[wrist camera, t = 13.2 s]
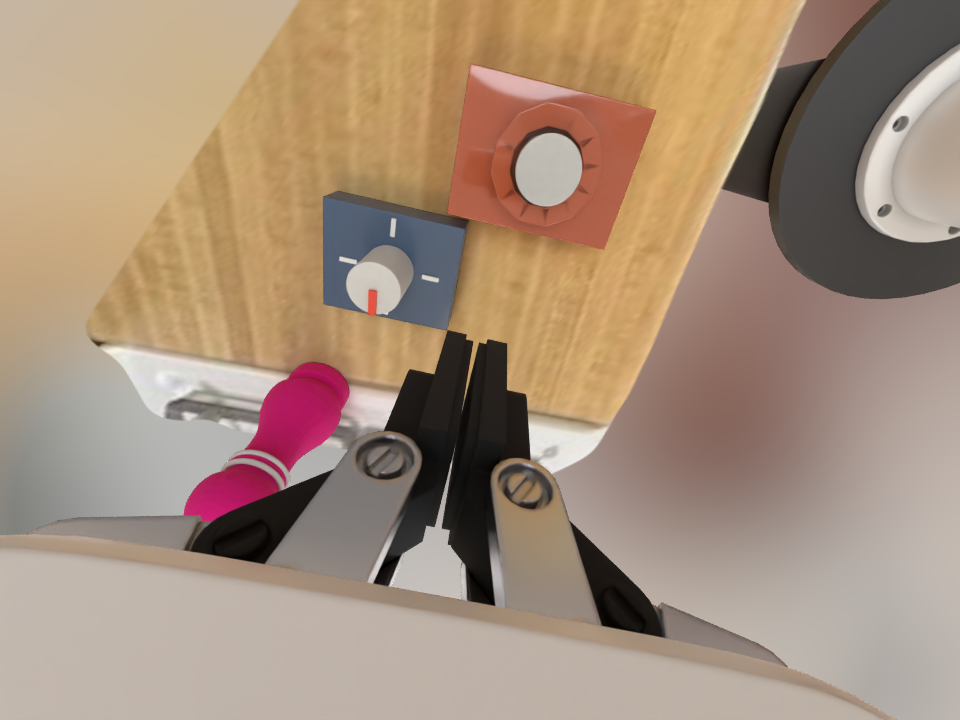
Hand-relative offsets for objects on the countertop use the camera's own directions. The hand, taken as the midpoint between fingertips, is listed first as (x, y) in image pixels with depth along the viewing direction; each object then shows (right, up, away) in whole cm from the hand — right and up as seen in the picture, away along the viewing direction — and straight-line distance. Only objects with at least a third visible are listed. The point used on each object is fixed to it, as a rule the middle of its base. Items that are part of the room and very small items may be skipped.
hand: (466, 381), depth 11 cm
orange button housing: (+5, +16, +19) cm, 25 cm away
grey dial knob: (-7, +8, +21) cm, 23 cm away
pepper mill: (-17, -2, +32) cm, 36 cm away
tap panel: (-7, +10, +23) cm, 26 cm away
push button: (+5, +13, +14) cm, 20 cm away
